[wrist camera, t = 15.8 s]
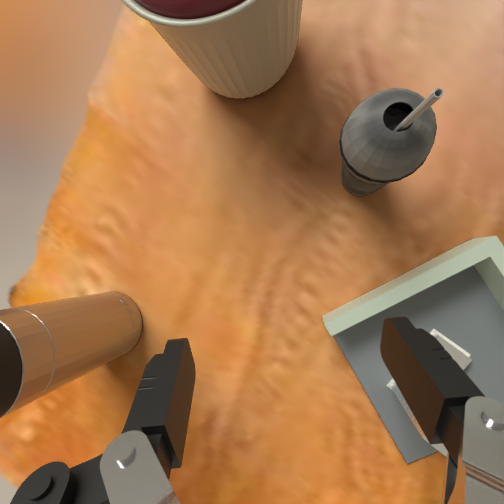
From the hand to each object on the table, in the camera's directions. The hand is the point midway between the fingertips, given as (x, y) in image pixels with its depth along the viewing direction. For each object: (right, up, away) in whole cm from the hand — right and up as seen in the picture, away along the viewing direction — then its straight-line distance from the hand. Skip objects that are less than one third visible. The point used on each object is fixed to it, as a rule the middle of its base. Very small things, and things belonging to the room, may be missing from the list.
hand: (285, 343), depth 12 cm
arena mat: (+20, -8, +21) cm, 30 cm away
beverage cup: (+12, +13, +24) cm, 29 cm away
